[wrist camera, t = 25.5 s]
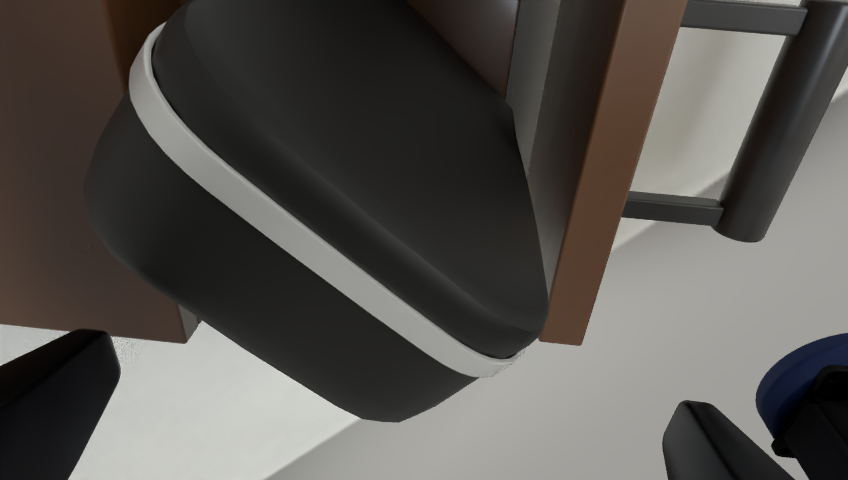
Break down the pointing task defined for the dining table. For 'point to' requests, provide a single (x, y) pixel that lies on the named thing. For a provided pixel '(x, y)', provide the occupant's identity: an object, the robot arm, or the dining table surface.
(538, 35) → the dining table surface
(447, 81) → the battery charger
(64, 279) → the cabinet
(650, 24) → the drawer
